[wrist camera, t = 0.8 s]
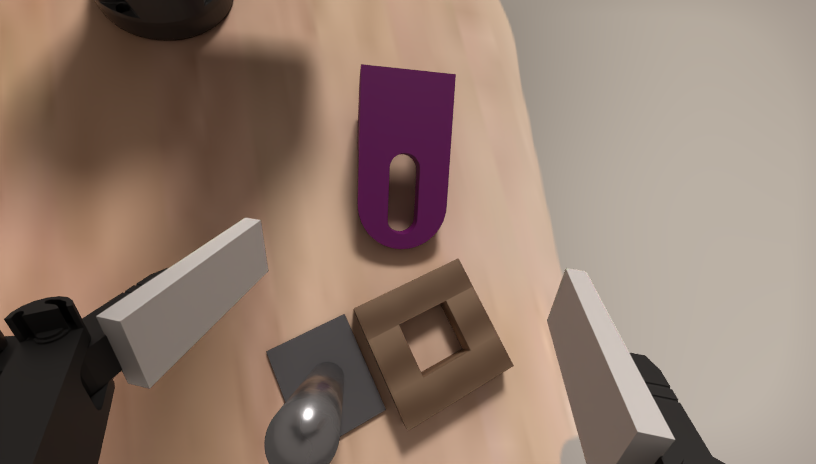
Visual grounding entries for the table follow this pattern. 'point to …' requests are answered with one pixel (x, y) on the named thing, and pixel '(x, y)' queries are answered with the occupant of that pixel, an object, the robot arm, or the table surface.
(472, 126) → the table surface
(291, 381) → the mat
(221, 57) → the table surface
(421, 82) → the mounting bracket
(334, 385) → the peg
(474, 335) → the collar
